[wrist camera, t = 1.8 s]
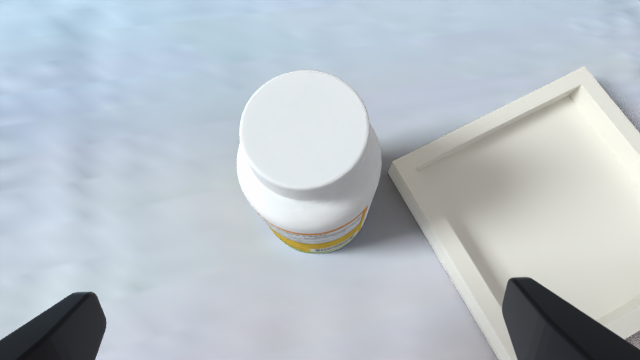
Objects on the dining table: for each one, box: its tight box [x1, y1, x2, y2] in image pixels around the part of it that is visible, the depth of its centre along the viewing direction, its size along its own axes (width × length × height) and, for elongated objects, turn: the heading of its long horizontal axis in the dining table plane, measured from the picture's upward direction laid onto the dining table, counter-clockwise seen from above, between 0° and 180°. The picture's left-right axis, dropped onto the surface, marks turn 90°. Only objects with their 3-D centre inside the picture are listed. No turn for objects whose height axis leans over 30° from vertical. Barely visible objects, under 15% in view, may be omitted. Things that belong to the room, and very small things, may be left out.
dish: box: [388, 66, 640, 360], centre depth 20 cm, size 12×12×2 cm
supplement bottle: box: [237, 70, 382, 254], centre depth 17 cm, size 5×5×10 cm
